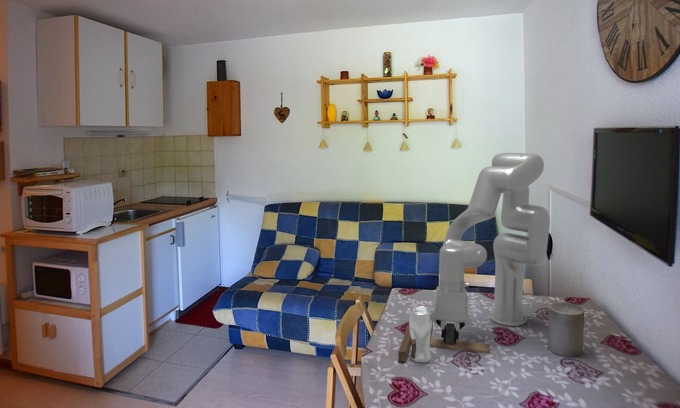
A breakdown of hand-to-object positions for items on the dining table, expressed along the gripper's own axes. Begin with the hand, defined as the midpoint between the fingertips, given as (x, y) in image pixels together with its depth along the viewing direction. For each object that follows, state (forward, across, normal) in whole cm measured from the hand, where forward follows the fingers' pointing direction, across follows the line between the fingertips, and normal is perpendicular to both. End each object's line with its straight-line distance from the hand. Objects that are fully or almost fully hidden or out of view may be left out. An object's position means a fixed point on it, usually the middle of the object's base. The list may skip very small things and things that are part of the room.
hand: (450, 340), depth 139 cm
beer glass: (+2, +8, +10) cm, 13 cm away
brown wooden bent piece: (+2, +1, +6) cm, 7 cm away
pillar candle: (+2, -34, -6) cm, 35 cm away
